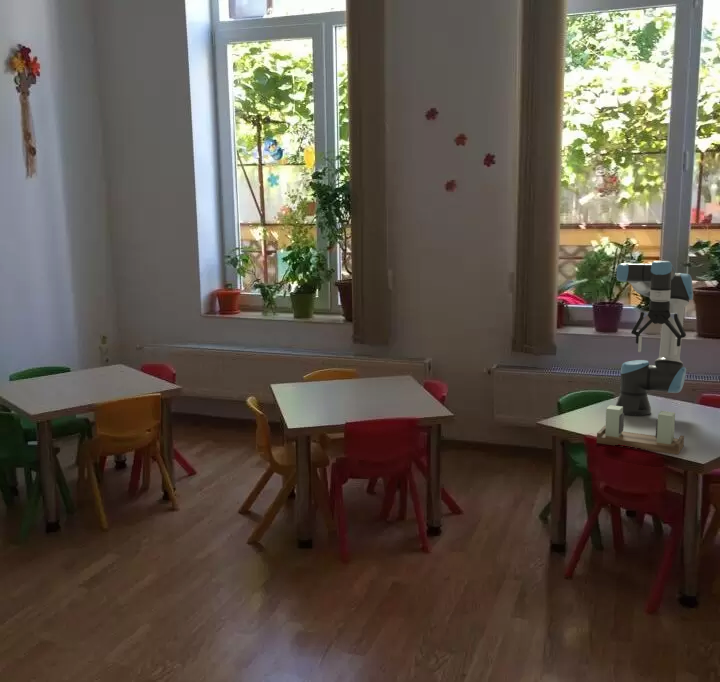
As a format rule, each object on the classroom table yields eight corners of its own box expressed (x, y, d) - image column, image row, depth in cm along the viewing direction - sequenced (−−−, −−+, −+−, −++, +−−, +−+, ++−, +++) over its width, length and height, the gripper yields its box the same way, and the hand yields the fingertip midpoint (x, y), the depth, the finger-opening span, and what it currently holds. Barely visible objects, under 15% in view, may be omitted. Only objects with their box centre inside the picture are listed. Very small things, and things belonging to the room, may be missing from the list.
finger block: (658, 438, 292) (659, 410, 291) (673, 440, 289) (675, 412, 288) (655, 442, 287) (656, 414, 286) (670, 444, 284) (672, 416, 283)
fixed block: (609, 431, 302) (610, 405, 300) (623, 433, 299) (624, 406, 297) (605, 435, 297) (606, 408, 295) (619, 437, 294) (621, 410, 292)
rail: (604, 435, 306) (604, 425, 306) (683, 445, 291) (684, 435, 290) (596, 442, 296) (597, 433, 296) (678, 454, 281) (678, 444, 280)
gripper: (625, 300, 301) (623, 352, 305) (692, 303, 288) (689, 357, 292) (629, 297, 307) (627, 348, 311) (695, 300, 295) (692, 353, 299)
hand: (657, 353), depth 302 cm, fingers open, 13 cm apart
